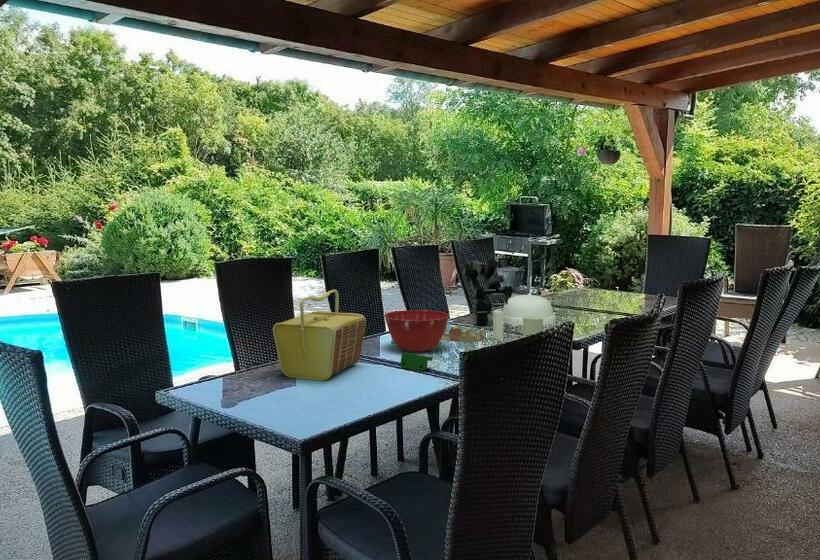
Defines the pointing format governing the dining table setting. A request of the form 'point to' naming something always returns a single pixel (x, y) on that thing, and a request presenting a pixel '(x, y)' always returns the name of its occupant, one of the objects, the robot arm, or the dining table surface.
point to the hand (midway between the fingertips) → (498, 304)
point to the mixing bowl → (416, 329)
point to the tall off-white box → (498, 324)
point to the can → (532, 324)
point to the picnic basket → (319, 341)
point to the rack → (463, 335)
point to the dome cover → (528, 309)
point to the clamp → (414, 361)
